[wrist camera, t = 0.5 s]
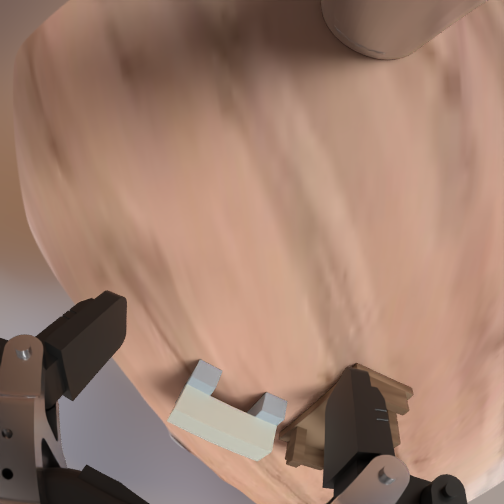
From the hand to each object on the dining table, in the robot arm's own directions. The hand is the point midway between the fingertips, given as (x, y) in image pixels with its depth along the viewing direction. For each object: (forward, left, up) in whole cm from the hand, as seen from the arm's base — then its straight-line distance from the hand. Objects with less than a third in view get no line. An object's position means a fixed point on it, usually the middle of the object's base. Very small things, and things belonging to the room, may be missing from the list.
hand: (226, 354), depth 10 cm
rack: (+19, +20, -18) cm, 32 cm away
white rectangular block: (+24, +6, -15) cm, 29 cm away
